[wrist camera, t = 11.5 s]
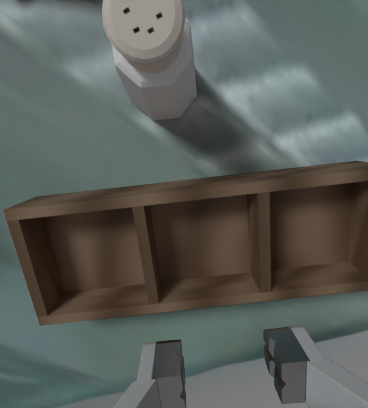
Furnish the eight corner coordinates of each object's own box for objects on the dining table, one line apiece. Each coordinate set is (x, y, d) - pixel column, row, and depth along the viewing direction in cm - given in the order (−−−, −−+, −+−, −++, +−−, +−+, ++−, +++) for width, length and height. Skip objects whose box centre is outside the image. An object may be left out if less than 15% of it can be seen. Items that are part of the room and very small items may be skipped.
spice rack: (356, 160, 20) (397, 166, 17) (348, 263, 23) (383, 288, 19) (36, 196, 21) (3, 210, 17) (63, 294, 23) (40, 325, 19)
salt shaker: (210, 101, 19) (251, 53, 8) (149, 134, 20) (115, 129, 9) (177, 30, 18) (176, -135, 7) (113, 68, 18) (23, -31, 8)
